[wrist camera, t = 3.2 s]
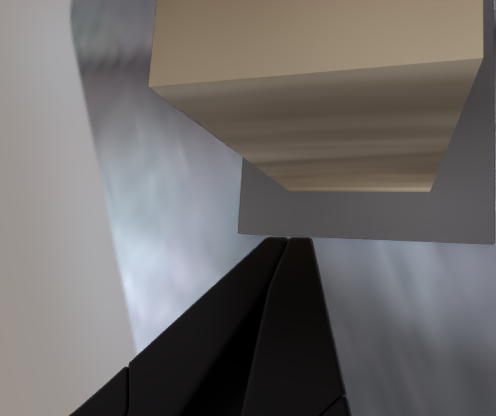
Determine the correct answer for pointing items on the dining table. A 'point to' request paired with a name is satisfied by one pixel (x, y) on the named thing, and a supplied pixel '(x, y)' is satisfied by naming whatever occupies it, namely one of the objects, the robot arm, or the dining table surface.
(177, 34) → the domino
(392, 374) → the dining table surface
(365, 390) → the dining table surface
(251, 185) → the rubber mat
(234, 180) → the dining table surface
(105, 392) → the robot arm
